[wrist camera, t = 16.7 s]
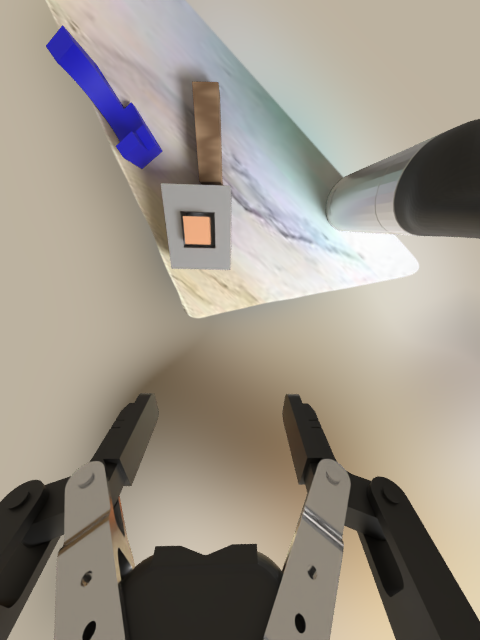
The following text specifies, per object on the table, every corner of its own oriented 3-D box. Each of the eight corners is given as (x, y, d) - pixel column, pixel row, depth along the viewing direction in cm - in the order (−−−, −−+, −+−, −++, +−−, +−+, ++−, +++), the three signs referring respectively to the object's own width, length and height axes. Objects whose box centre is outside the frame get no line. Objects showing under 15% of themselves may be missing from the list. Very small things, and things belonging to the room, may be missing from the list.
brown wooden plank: (218, 82, 26) (221, 181, 31) (220, 97, 29) (222, 185, 34) (192, 81, 26) (199, 181, 30) (196, 97, 29) (202, 185, 34)
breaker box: (231, 193, 34) (230, 185, 28) (230, 262, 39) (230, 269, 33) (174, 191, 34) (160, 183, 27) (181, 261, 39) (171, 268, 33)
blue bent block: (162, 151, 31) (147, 136, 26) (142, 169, 32) (123, 158, 27) (104, 56, 27) (71, 14, 21) (82, 80, 28) (45, 46, 22)
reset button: (211, 217, 31) (209, 216, 28) (212, 242, 33) (210, 244, 30) (187, 216, 31) (182, 216, 28) (189, 242, 33) (185, 243, 30)
